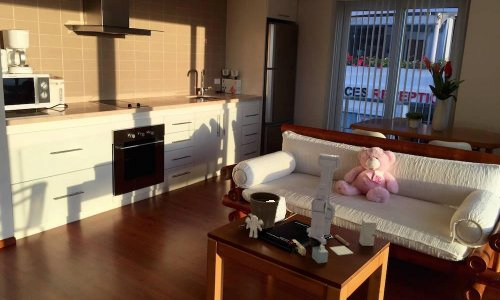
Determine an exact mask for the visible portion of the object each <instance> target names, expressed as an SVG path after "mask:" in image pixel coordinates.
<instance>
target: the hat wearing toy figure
mask: <svg viewBox="0 0 500 300" xmlns="http://www.w3.org/2000/svg"><path fill="white" fill-rule="evenodd" d="M248 216H250V217H246V218H245V223H246V227H245V228H246V229H247V230H248V229H249V228H250V230H249V235H248V236H249V238H255V239H257V238H258V237H259V236H258V230H259V231H260V232H262V231H263V230H262V228H261V227H260V225H259V224H262V225H263V221H262V219H261V220H259V222H258V218H257V216H252V215H251V213H248ZM257 226H258V228H259V229H257Z"/></svg>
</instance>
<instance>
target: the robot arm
mask: <svg viewBox="0 0 500 300" xmlns="http://www.w3.org/2000/svg"><path fill="white" fill-rule="evenodd" d="M340 160H341V157H340V155H334V154H327V153H319V154H318V158H317V166H318V169H319V170H320V179H319V180H320V181H319V184H317V185H316V188H315V193H314V198H313V199H312V202H311V209H310V210H311V214H310V215H311V222H310V223H311V224H310V227H307V228H306V233H308V234H307V236H308V241H309V244H310V243H311V244H310V248H311V252H312V251H313V247H318V246H320V245H321V244H322V245H323V246H324V245H327V239H325V238H324V235H329V234H330V233H331V224H332V221H333V220H335V214H336V205H335V203H333V201H331V195H332V185H333V175H334V172H335V171H338V170H339V168H340ZM330 235H331V234H330ZM333 238H334V237H333V236H332V235H331V237H329V238H328V239H333Z"/></svg>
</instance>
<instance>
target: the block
mask: <svg viewBox="0 0 500 300" xmlns="http://www.w3.org/2000/svg"><path fill="white" fill-rule="evenodd" d="M311 253H312V254H311V258H312V259H313V260H314V261H315V262H316V263H317V264H324V263H328V257H329V251H328V250H327V249H326V248H325V249H324V248H323V247H322V246H318V247H313V251H312V250H311Z"/></svg>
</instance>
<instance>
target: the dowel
mask: <svg viewBox="0 0 500 300" xmlns="http://www.w3.org/2000/svg"><path fill="white" fill-rule="evenodd" d="M334 237H335V238H336V239H337V241H339V242H341V244H343V245H344V246H345V247H346V246H347V247H350V243H349V242H347V241H346V240H345V239H343V238H342V237H341V236H339V235H338V234H335V236H334Z"/></svg>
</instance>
